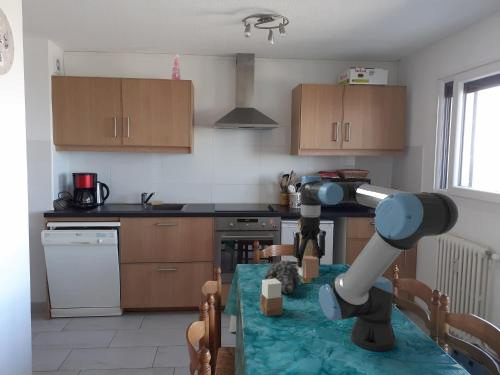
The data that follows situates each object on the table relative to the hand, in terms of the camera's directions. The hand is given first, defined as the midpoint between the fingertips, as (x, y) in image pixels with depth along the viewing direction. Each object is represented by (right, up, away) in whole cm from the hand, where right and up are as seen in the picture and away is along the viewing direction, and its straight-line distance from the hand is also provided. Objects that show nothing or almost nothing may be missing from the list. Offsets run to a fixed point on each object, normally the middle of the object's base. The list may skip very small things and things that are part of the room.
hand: (308, 274), depth 147 cm
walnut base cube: (-14, -18, +9) cm, 24 cm away
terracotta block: (0, 0, 0) cm, 1 cm away
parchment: (+6, -14, +57) cm, 59 cm away
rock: (-7, -16, +35) cm, 39 cm away
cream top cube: (-14, -11, +9) cm, 20 cm away
